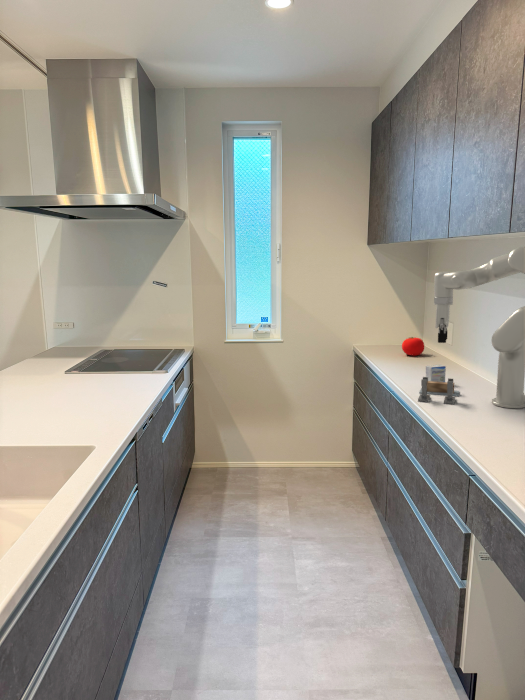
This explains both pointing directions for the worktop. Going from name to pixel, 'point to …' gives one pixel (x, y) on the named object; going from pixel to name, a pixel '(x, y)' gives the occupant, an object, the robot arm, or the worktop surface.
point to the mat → (456, 393)
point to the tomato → (413, 346)
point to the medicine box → (436, 373)
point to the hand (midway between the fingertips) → (442, 341)
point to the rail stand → (425, 398)
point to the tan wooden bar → (437, 387)
